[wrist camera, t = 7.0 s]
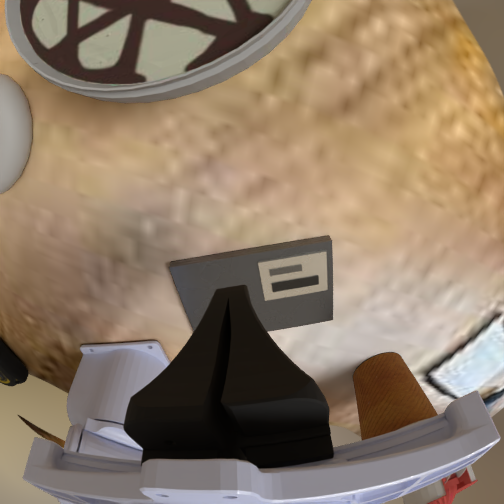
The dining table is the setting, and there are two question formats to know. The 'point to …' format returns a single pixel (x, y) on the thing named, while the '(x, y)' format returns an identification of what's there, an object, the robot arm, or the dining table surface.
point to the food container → (146, 42)
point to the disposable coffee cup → (388, 396)
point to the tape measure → (11, 367)
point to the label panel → (264, 281)
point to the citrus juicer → (442, 488)
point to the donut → (13, 132)
